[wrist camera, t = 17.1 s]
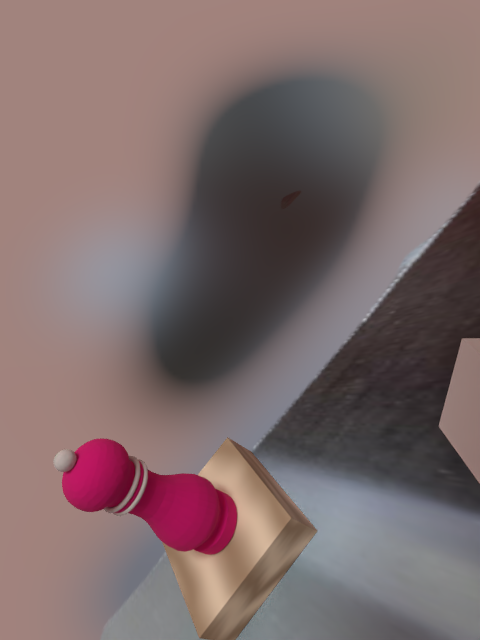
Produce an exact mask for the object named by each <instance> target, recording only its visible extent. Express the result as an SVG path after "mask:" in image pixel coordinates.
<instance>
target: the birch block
mask: <svg viewBox="0 0 480 640" xmlns="http://www.w3.org/2000/svg"><path fill="white" fill-rule="evenodd" d="M198 476H201V477H204V478H206V479H208V480H209V481H210V482H211V483H212V484H213V486H214V487H215V489H217V490H220V491H222V492H224V493H226V494H228V495H229V496H230V497H231V498H232V499H233V501H234V503H235V506H236V510H237V523H236V527H235V531H234V534H233V536H232V538H231V540H230V541H229V543H228V544H227V546H226V547H225V548H223V549H222V550H221V551H220V552H218V553H216V554H212V555H208V554H204V553H201V552H198V551H195V550H194V549H193V550H191V551H186V552H183V551H177V550H175V549H173V548H171V547H169V546H167V545H166V544H165V543H163V545H164V547H165V550H166V553H167V555H168V558H169V560H170V563H171V566H172V568H173V571H174V573H175V576H176V579H177V581H178V584H179V586H180V589H181V592H182V594H183V597H184V599H185V602H186V605H187V607H188V610H189V612H190V615H191V618H192V620H193V623H194V625H195V628H196V631H197V633H198V636H199V638H202V639H209V640H235V639H236V638H237V637H238V635H239V634H240V633H241V631H242V630H243V629H244V627H245V626H246V625H247V623H248V622H249V621H250V619H251V618H252V617H253V616H254V614H255V613H256V612H257V610H258V609H259V608H260V606H261V605H262V604H263V602H264V601H265V600H266V598H267V597H268V596H269V594H270V593H271V592H272V590H273V589H274V588H275V586H276V585H277V584H278V582H279V581H280V580H281V579H282V577H283V576H284V575H285V573H286V572H287V571H288V569H289V568H290V567H291V565H292V564H293V563H294V561H295V560H296V559H297V557H298V556H299V555H300V553H301V552H302V551H303V549H304V548H305V547H306V545H307V544H308V543H309V542H310V540H311V539H312V538H313V536H314V535H315V534H316V532H317V530H316V529H315V527H314V526H313V525H312V524H311V523H310V521H309V520H308V519H307V518H306V517H305V515H304V514H303V513H302V512H301V511H300V509H299V508H298V507H297V506H296V505H295V503H294V502H293V501H292V500H291V499H290V497H289V496H288V495H287V494H286V493H285V491H284V490H283V489H282V488H281V487H280V486H279V484H278V483H277V482H276V481H275V480H274V478H273V477H272V476H271V475H270V474H269V472H268V471H267V470H266V469H265V468H264V466H263V465H262V464H261V463H260V462H259V460H258V459H257V458H256V457H255V456H254V454H253V453H252V452H251V451H249V450H247V449H246V448H244V447H242V446H241V445H239V444H238V443H236V442H234V441H233V440H231V439H229V438H227V439H226V440H225V441H224V443H223V444H222V445H221V447H220V448H219V449H218V450H217V451H216V453H215V454H214V455H213V456H212V458H211V459H210V460H209V461H208V463H207V464H206V465H205V467H204V468H203V469H202V470H201V472H200V473H199V474H198Z"/></svg>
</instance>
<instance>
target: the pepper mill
mask: <svg viewBox="0 0 480 640" xmlns="http://www.w3.org/2000/svg"><path fill="white" fill-rule="evenodd" d="M54 466H55V468H56V469H57V470H58V471H61V472H64V474H63V479H62V487H63V493H64V495H65V497H66V499H67V500H68V502H70V503H71V504H72V505H73V506H74V507H76V508H77V509H80V510H82V511H86V512H94V511H99V510H102V509H104V510H105V511H106V512H108V513H113V514H115V515H117V516H122V515H125V514H127V513H130V514H134V515H136V516H138V517H141V518H142V519H144V520H145V521H146V522H147V523H148V524H149V525H150V527H151V528H152V530H153V531H154V533H155V534H156V535H157V537H158V538H159V539H160V540H161V541H162V542H163V543H165V544H166V545H167V546H169V547H171V548H173V549H175V550H177V551H183V552H186V551H191V550H193V549H194V550H195V551H198V552H201V553H204V554H208V555H212V554H216V553H218V552H220V551H221V550H222V549H223V548H225V547H226V546H227V544H228V543H229V541H230V540H231V538H232V536H233V534H234V531H235V527H236V523H237V510H236V506H235V503H234V501H233V499H232V498H231V497H230V496H229V495H228V494H226V493H224V492H222V491H220V490H217V489H215V487H214V486H213V484H212V483H211V482H210V481H209V480H208V479H206V478H204V477H201V476H198V475H195V474H175V475H158V474H156V473H153V472H151V471H149V470H148V469H147V466H146V464H145V462H143V461H142V460H138V459H137V458H135V457H133V456H128V453H127V452H126V450H125V448H124V447H123V446H122V445H120V444H119V443H117V442H115V441H113V440H109V439H94V440H91V441H89V442H87V443H85V444H84V445H82V446H81V447H79V448H78V450H76V451H75V453H74V452H73V451H72V450H68V449H65V450H62V451H60V452H59V453H57V455H56V456H55V458H54Z"/></svg>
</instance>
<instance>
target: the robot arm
mask: <svg viewBox="0 0 480 640" xmlns="http://www.w3.org/2000/svg"><path fill="white" fill-rule="evenodd" d="M439 427H440V429H441V430H442V432H443V433H444V434H445V436H446V437H447V439H448V440H449V441H450V443H451V444H452V446H453V447H454V448H455V450H456V451H457V453H458V454H459V455H460V457H461V458H462V460H463V461H464V462H465V464H466V465H467V467H468V468H469V469H470V471H471V472H472V474H473V475H474V476H475V478H476V479H477V481H478V482H479V483H480V338H462V341H461V344H460V348H459V352H458V356H457V359H456V363H455V367H454V371H453V374H452V378H451V382H450V386H449V389H448V393H447V397H446V400H445V404H444V408H443V412H442V415H441V419H440V423H439Z"/></svg>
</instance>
